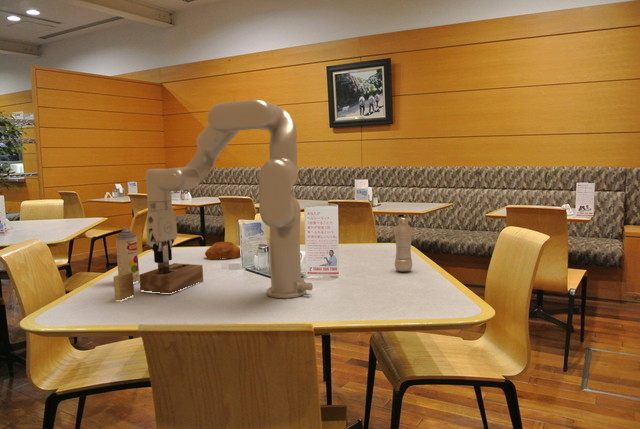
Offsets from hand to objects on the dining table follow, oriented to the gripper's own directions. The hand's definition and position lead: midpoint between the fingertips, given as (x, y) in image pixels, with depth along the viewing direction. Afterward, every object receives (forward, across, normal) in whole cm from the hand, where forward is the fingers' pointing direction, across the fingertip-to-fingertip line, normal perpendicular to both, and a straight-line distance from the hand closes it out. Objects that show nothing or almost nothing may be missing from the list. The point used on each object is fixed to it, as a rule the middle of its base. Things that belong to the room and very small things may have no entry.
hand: (163, 260), depth 165 cm
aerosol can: (+10, +4, +19) cm, 22 cm away
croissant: (+10, +54, +11) cm, 56 cm away
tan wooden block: (+10, -13, +5) cm, 17 cm away
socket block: (+10, +4, 0) cm, 11 cm away
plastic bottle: (+10, +47, -70) cm, 85 cm away
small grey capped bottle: (+3, 0, 0) cm, 3 cm away
